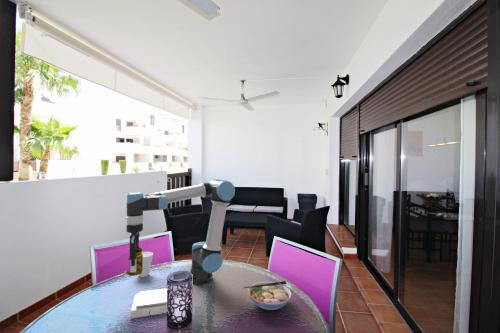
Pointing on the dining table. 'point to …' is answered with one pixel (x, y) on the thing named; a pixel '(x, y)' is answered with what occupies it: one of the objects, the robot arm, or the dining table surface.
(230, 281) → the dining table surface
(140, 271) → the condiment
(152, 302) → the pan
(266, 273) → the dining table surface
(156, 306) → the base
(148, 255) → the cup
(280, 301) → the ramen bowl
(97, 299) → the dining table surface
